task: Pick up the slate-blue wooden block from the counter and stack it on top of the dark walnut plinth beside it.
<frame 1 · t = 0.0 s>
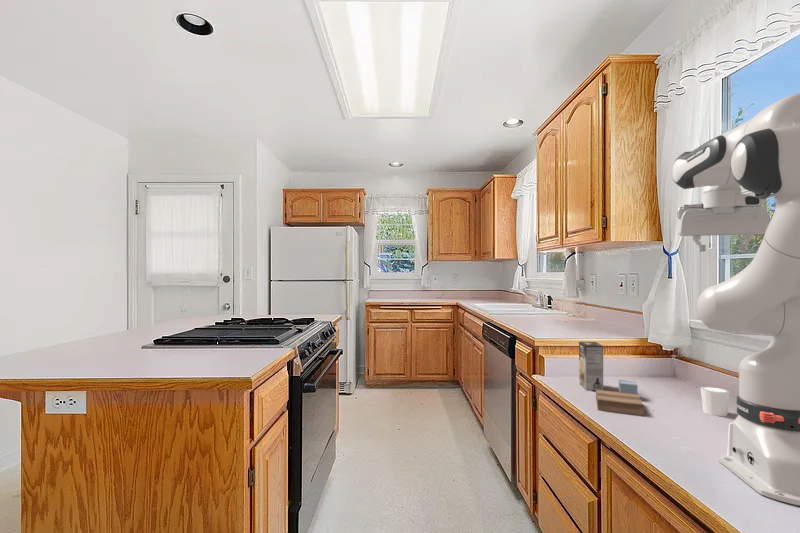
hand: (722, 251, 112), 48 cm above the counter, tool pointing down, fingers open, 8 cm apart
walnut plinth: (618, 406, 123), on the counter
coffee box: (591, 387, 145), on the counter
white cup: (715, 413, 118), on the counter
slate block: (627, 397, 133), on the counter
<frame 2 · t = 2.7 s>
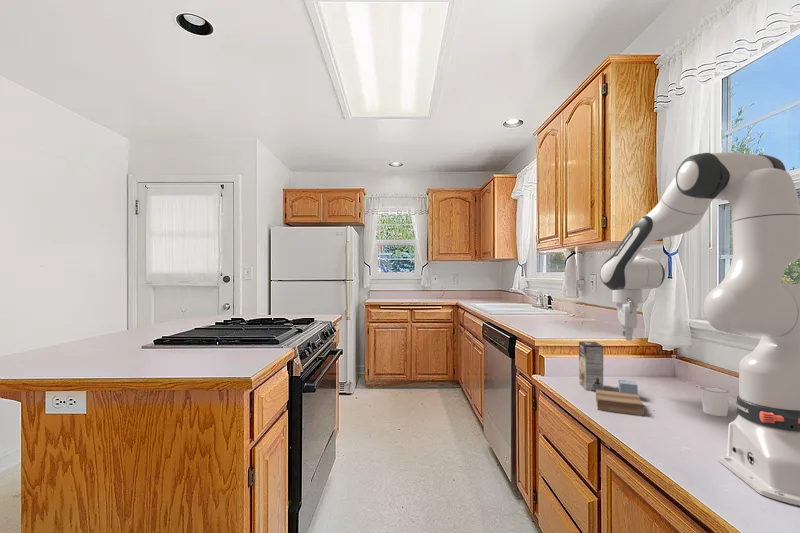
hand: (627, 338, 134), 20 cm above the counter, tool pointing down, fingers open, 8 cm apart
nothing on the counter moved.
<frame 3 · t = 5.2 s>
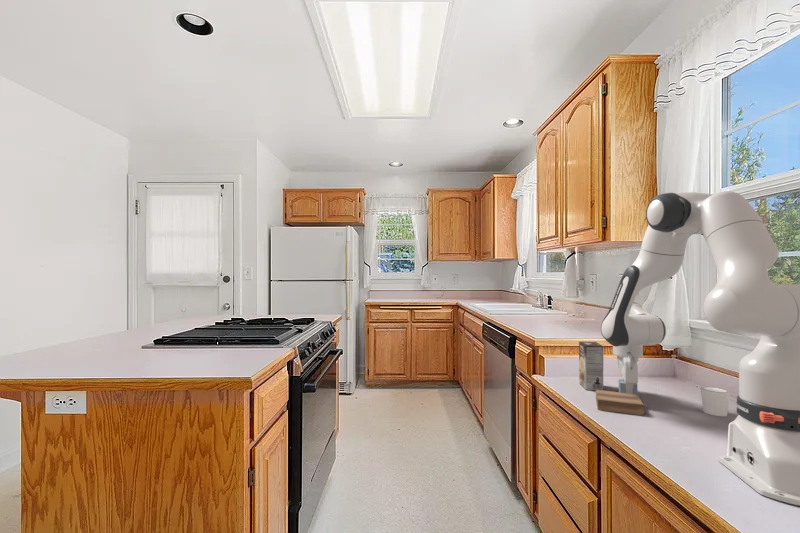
hand: (627, 391, 133), 2 cm above the counter, tool pointing down, fingers closed on slate block, 5 cm apart
slate block: (627, 396, 133), on the counter, touching gripper
everything else where it was.
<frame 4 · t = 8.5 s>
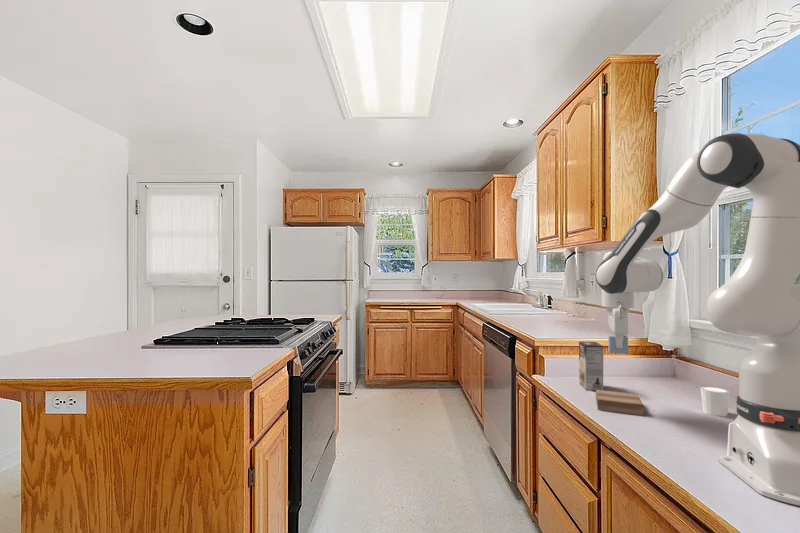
hand: (618, 345, 124), 19 cm above the counter, tool pointing down, fingers closed on slate block, 5 cm apart
slate block: (618, 352, 123), point 17 cm above the counter, touching gripper
everything else where it was.
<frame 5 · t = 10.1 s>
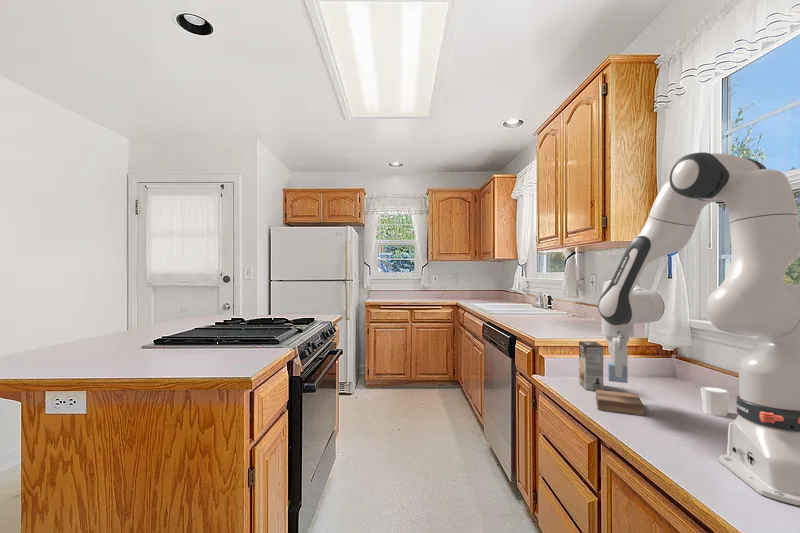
hand: (617, 374, 124), 10 cm above the counter, tool pointing down, fingers closed on slate block, 5 cm apart
slate block: (617, 380, 123), point 8 cm above the counter, touching gripper
everything else where it was.
when the fingers open (6 cm above the counter, at t = 11.7 s): slate block drops 1 cm, resting on walnut plinth.
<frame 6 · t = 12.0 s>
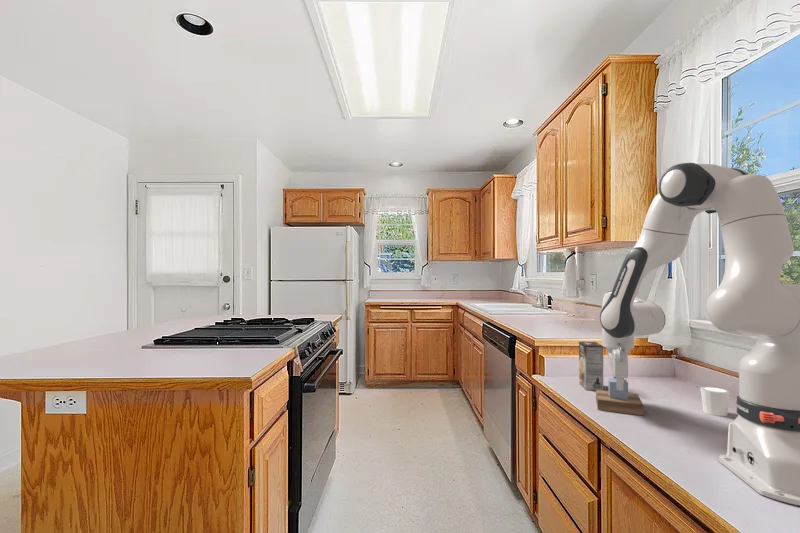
hand: (618, 386, 123), 6 cm above the counter, tool pointing down, fingers open, 8 cm apart
slate block: (618, 396, 123), point 3 cm above the counter, touching walnut plinth
everything else where it was.
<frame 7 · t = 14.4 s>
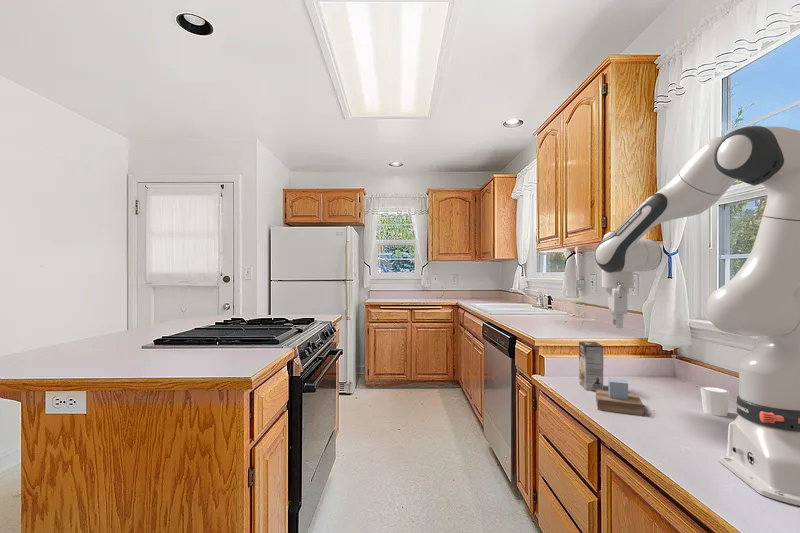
hand: (617, 326, 124), 25 cm above the counter, tool pointing down, fingers open, 8 cm apart
nothing on the counter moved.
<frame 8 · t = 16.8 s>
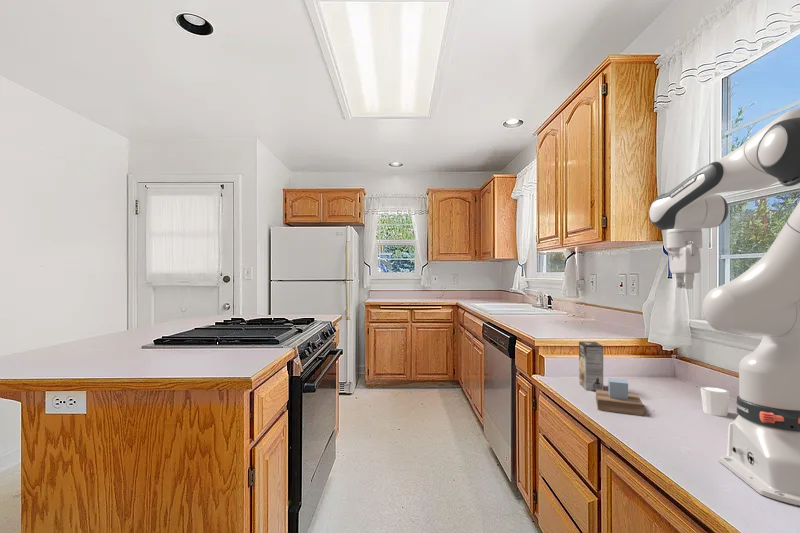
hand: (684, 288, 119), 37 cm above the counter, tool pointing down, fingers open, 8 cm apart
nothing on the counter moved.
at the end: slate block inside the target area on the walnut plinth (0.1 cm from its centre), point 3.0 cm above the walnut plinth's base; slate block tilted 0°; the gripper is holding nothing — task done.
